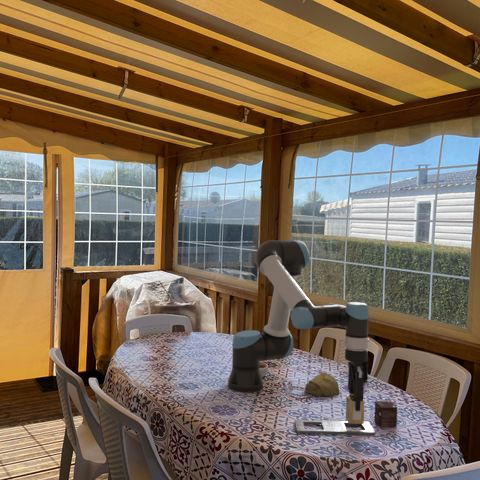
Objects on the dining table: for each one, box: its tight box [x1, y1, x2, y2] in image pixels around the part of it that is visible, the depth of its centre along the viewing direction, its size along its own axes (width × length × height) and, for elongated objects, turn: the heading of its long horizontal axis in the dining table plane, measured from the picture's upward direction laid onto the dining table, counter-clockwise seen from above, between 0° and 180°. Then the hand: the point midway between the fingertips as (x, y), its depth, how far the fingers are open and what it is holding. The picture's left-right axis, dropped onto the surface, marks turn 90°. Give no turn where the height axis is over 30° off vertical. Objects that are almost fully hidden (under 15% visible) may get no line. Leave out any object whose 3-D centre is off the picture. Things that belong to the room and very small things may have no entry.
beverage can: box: [362, 359, 369, 383], centre depth 227 cm, size 7×7×12 cm
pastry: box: [304, 372, 341, 397], centre depth 209 cm, size 14×12×8 cm
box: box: [373, 400, 398, 429], centre depth 176 cm, size 6×6×7 cm
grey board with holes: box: [294, 419, 376, 436], centre depth 171 cm, size 26×9×1 cm, turn 90°
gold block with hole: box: [345, 394, 365, 424], centre depth 171 cm, size 5×5×8 cm
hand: (354, 416), depth 171 cm, fingers closed on gold block with hole, 5 cm apart
